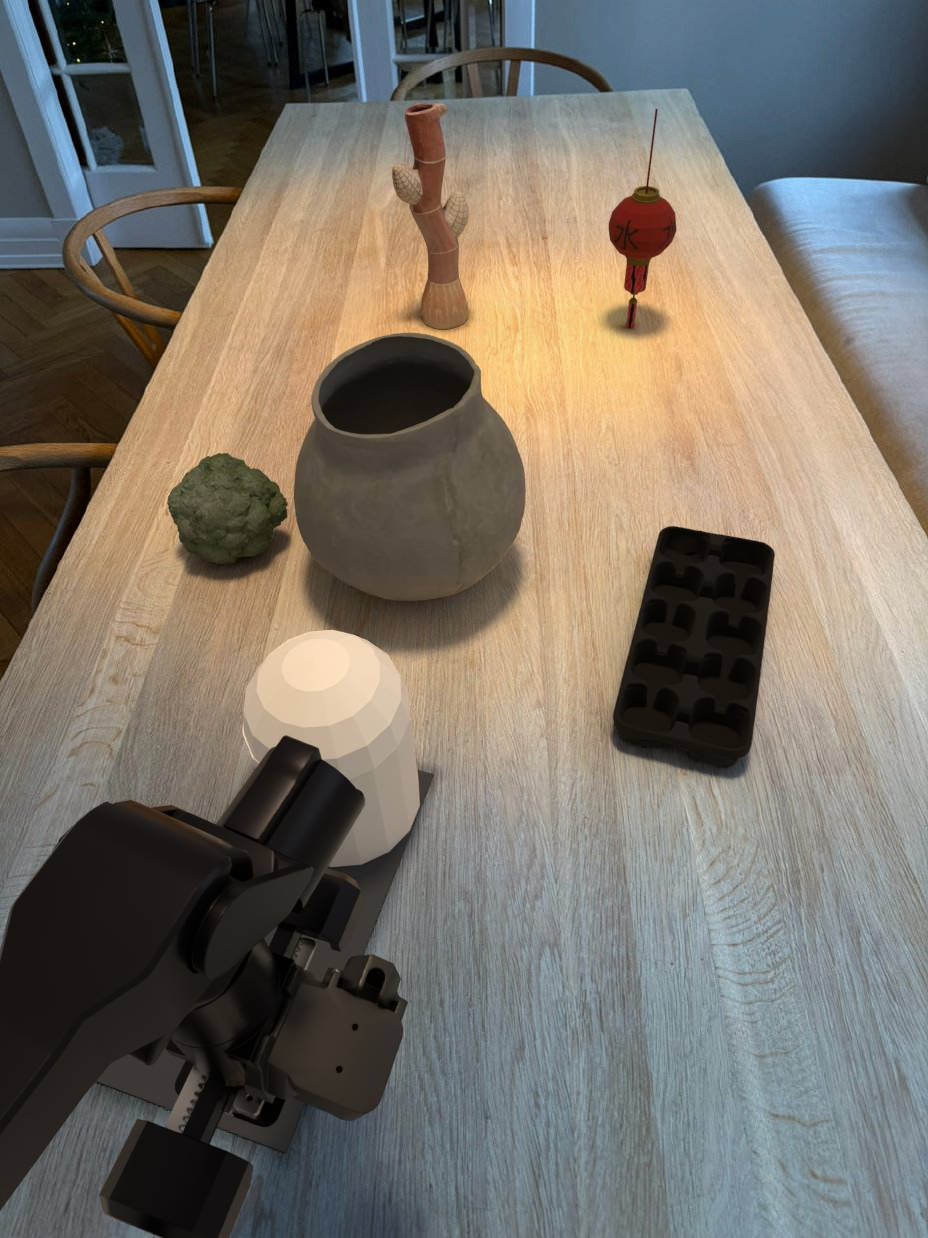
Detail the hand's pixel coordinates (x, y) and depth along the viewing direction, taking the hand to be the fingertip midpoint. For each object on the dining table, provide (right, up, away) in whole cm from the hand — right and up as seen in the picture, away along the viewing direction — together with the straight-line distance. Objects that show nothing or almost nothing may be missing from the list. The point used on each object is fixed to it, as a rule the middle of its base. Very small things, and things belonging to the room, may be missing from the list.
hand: (276, 1075), depth 53 cm
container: (+1, +11, +27) cm, 29 cm away
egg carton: (+35, +24, +38) cm, 57 cm away
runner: (-4, +3, +21) cm, 21 cm away
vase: (+7, +74, +84) cm, 112 cm away
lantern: (+36, +72, +81) cm, 114 cm away
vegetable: (-16, +37, +51) cm, 65 cm away
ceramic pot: (+6, +34, +48) cm, 59 cm away
